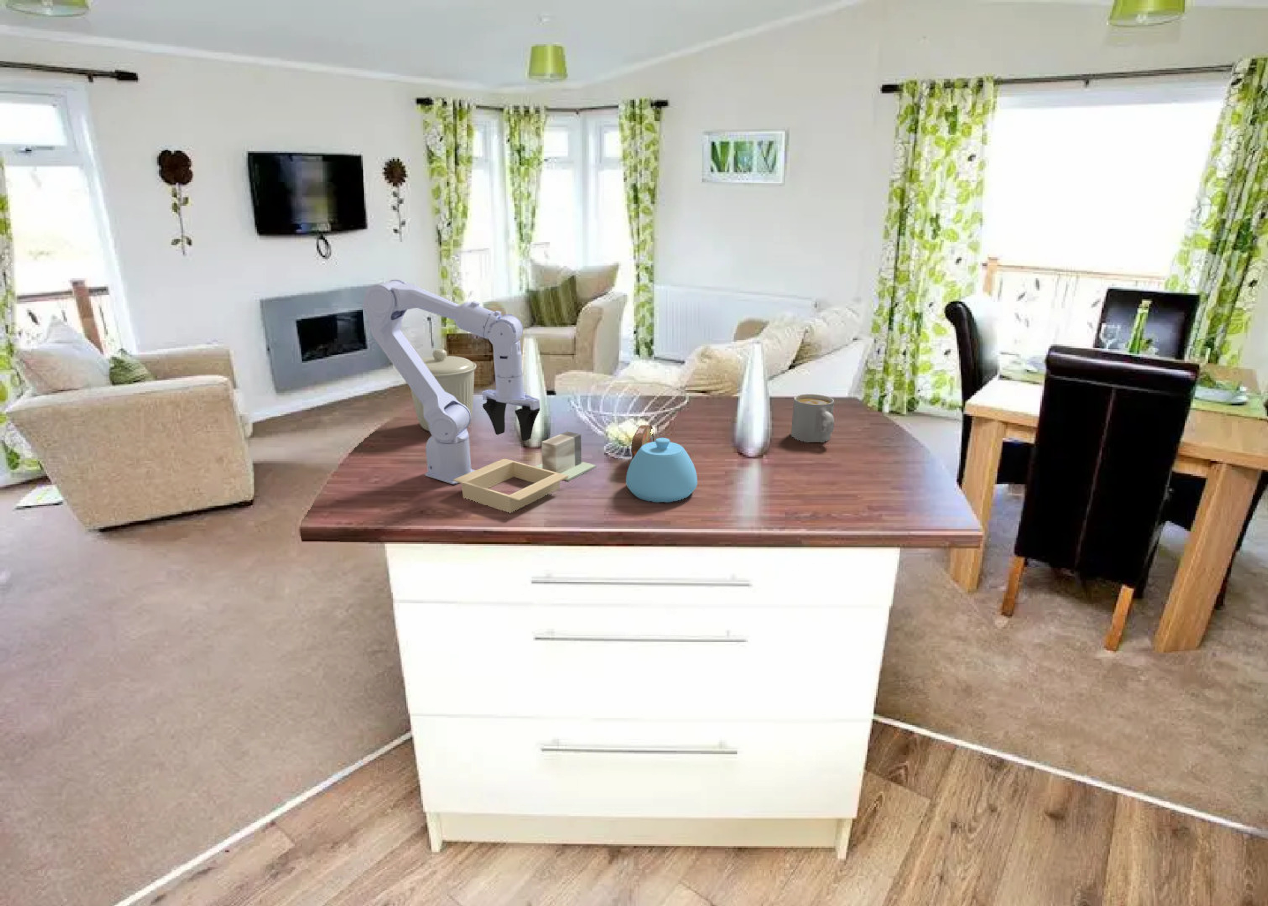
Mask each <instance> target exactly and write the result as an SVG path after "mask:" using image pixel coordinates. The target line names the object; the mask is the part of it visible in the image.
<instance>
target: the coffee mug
mask: <svg viewBox="0 0 1268 906" xmlns="http://www.w3.org/2000/svg"><path fill="white" fill-rule="evenodd" d="M834 405H835V400H834V398H832V397H830V396H827V395H823V394H817V393H804V394H799V395H796V396H794V397H793V406H792V418H791V420H792V421H791V433H790V437H791V438H792V437H794V438H795V439H794V438H793V439H794V440H796V439H797V440H796V441H799V440H800V442H803V441H804V442H803V443H809V442H821V443H826V442H828V440H829V441H830V440H831V437H832V436H831V435H832V434H833V431H834V428H835V418H834V408H835V406H834ZM825 441H826V442H825Z"/></svg>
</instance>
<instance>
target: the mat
mask: <svg viewBox="0 0 1268 906" xmlns="http://www.w3.org/2000/svg"><path fill="white" fill-rule="evenodd" d="M534 467H538V468H542V469H543V467H542V462H541V463H539V464H537V465H535V466H534ZM592 468H594V469H596V468H597V465H596V464H592V463H588V462H584V461H582V463H581V464H579V465H577V466H575V467H573V468H571V469H569V470H567V471H564V472H562V473H560V474H564V475H568V476H569V477H568V478H566V479H564V480H563V481H567V482H570V481H572V480H574V479H576V478H578V477H580V476H581V475H583V473H584V474H586V473H588V472H590V471H591V469H592ZM589 470H590V471H589ZM592 470H593V469H592Z"/></svg>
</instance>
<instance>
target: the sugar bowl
mask: <svg viewBox="0 0 1268 906" xmlns="http://www.w3.org/2000/svg"><path fill="white" fill-rule="evenodd" d="M654 439H655V438H654ZM625 477H626V478H625V484H626V487H627V488H628V489H629V491H630V492H631V494H633V495H634V496H635V497H637V498H638V499H640V500H643V501H646V502H650V501H652V502H651V503H659V502H665V503H672V502H673V501H675V502H679V501H682V500H684V498H685V499H686V498H688V497H690V495H691V494H692V493H693V492H694V491H695V490H696V488H697V486H698V475H697V470H696V468H695V465H694V463H693V461H692V459H691V457H690V455H689V454H688V452H687V451H686V450H685V448H684V447H683V446H682V445H681V444H679V443H677V442H672V441H671V439H669V438H666V437H659V438H656V439H655V440H654V442H650V443H647V444H644V445H643V446H642V447H641V448H640V449H639V450H638V452H637V453H636V455H635V456H634V458H633V459H632V458H631V461H630V464H629V465H628V468H627V472H626V476H625ZM681 499H682V500H681ZM678 500H679V501H678Z"/></svg>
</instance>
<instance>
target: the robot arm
mask: <svg viewBox="0 0 1268 906" xmlns="http://www.w3.org/2000/svg"><path fill="white" fill-rule="evenodd" d="M361 307H362V308H363V310H364V311H365V313H366V314H367V320H368V324H369V328H370V332H371V335H372V337H373V339H374V340H375V341H376V343H377V344H378V346H379V347H380V348H381V350H382V352H383V353H385V355H386V357H387V358H388V359H389V361H390V362H391V364H392V365H393V366H394V367H395V369H396V370H397V372H398V373H399V374H400V376H401V377H402V379H403V381H405V382H406V384H407V385H408V386H409V388H410V390H411V389H412V391H413V392H414V393H415V395H416V396H417V397H418V399H419V400H420V402H421V403H422V404H423V407H424V418H425V420H426V421H427V423H428V425H429V430H430V431H429V433H430V435H431V436H430V437H429V438H428V440H427V441H426V444H425V457H426V466H427V472H425V473H424V475H425V476H426V477H428V478H431V479H435V480H437V481H438V480H439V481H442V482H445V483H447V484H452V485H456V484H459V483H458V482H455V481H453V479H456V478H458V477H461V476H463V475H466V474H468V473H470V472H473V471H475V469H474V468H473V469H472V461H471V460H472V459H471V449H470V448H471V447H470V434H469V432H468V427H469V426H470V424H471V422H472V419H471V413H470V411H469V409H468V408H467V407H466V406H465V405H463V404H461V403H460V402H459V401H458V400H457V399H456V398H455V397H454V396H453V395H451V394H449V393H447V392H445V391H444V390H443V388H442V387H441V386H440V384H439V383H438V381H437V380H436V379H435V377H434V376H433V375H432V373H431V372H430V370H429V369H428V368H427V366H426V365H425V363H424V362H423V361H422V359H423V358H421V356H420V355H419V354H418V352H417V350H415V348H414V347H413V346H412V344H411V343H410V341H409V340H408V338H407V337H406V336H405V335H404V333H403V332H402V329H401V328H402V324H403V320H404V319H403V318H404V315H405V313H406V312H407V310H412V309H419V310H422V311H424V312H425V311H426V312H429V313H431V314H435V315H437V316H441V317H444V318H447V319H450V320H453V321H454V323H455V325H456V326H457V328H458V329H460V330H463V331H465V332H468V333H470V334H473V335H475V336H478V337H481V338H483V339H486V340H489V342H490V344H492V349H493V355H492V356H493V364H494V378H495V379H494V381H495V389H490V388H489V389H486V390H483V391H482V401H485V403H482V408H483V409H484V411H485V412H486V414H487V416H488V418H489V420H490V422H491V424H492V427H493V431H494V433H495V435H497V436H499V435H502V434H504V433H505V430H506V429H505V428H506V420H505V416H506V408H507V405H511V406H512V405H513V406H517V407H521V408H519V409H516V410H515V409H514V413H515V415H516V418H517V420H518V424H519V431H520V438H521V441H522V442H526V441H528V440H530V439H531V438H532V433H533V429H534V425H535V421H536V419H537V417H538V415H539V413H540V411H541V405H540V404H541V403H540V401H541V400H540V398H536V397H534V396H532V395H529V394H527V391H525V390H524V374H523V358H522V357H523V356H522V348H521V340H520V339H521V337H522V335H523V333H524V326H523V324H522V322H521V319H519V318H518V317H516V316H515V315H513V314H512V313H507V314H506V313H505V314H502V311H500V310H496V311H493V310H490V309H488V308H485V307H482V306H480V302H479V301H475V300H473V301H471V302H469V301H466V302H463V303H462V304H458V303H457V302H453V301H451V300H450V299H447V298H445V297H442V296H440V295H438V294H436V293H433V292H431V291H428V290H426V289H424V288H421V287H419V286H418V285H415V284H414V283H411V282H405V281H403V280H402V279H396V278H395V279H391V280H389V281H388V282H387V281H386V282H383V283H380V284H372V285H371V286H369V287H368V288H367V289H366V292H365V294H364V297H363V302H362V306H361Z"/></svg>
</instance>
